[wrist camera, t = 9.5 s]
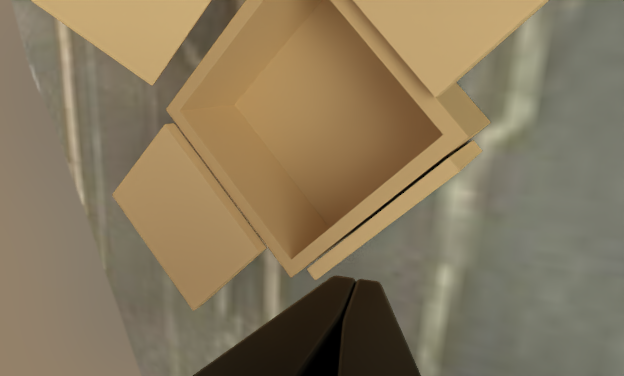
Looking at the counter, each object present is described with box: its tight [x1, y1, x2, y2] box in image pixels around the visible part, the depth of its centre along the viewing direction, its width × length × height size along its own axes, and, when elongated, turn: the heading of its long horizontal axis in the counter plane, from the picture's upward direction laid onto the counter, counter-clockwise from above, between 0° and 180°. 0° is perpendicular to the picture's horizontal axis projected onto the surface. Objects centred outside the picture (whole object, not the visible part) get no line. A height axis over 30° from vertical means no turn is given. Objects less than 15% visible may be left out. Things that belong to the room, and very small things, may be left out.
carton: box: [112, 0, 549, 311], centre depth 17 cm, size 9×17×4 cm, turn 134°
